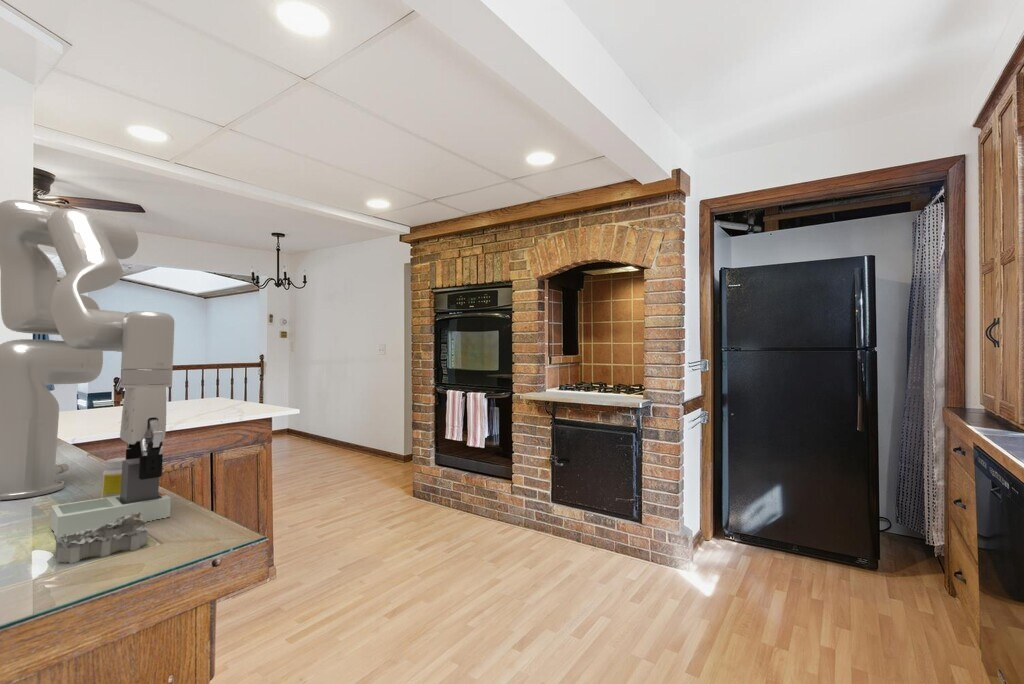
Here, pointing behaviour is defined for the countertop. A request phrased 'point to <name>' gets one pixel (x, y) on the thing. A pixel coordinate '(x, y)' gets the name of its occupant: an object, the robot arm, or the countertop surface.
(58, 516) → the power strip
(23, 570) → the countertop surface
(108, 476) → the supplement bottle
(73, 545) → the egg carton
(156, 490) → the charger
